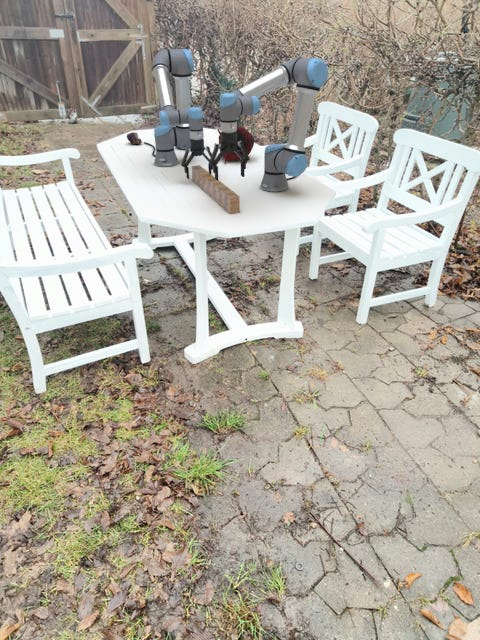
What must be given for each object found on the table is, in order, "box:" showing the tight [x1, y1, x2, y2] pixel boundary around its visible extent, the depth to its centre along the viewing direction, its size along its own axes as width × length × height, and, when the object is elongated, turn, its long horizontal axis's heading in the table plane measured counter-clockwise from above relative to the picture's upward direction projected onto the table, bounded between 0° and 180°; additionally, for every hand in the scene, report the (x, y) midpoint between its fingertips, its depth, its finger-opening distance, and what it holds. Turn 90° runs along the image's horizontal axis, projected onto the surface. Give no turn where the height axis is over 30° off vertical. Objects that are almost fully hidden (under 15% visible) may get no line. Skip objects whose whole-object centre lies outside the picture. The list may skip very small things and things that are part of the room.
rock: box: [126, 132, 143, 145], centre depth 336 cm, size 12×9×10 cm
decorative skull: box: [217, 125, 255, 165], centre depth 297 cm, size 21×24×25 cm
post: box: [190, 165, 241, 214], centre depth 242 cm, size 59×5×8 cm, turn 23°
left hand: (199, 177), depth 260 cm, fingers open, 13 cm apart
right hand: (229, 177), depth 217 cm, fingers open, 13 cm apart
